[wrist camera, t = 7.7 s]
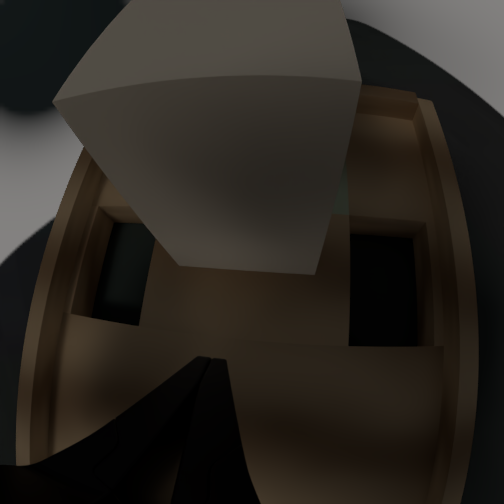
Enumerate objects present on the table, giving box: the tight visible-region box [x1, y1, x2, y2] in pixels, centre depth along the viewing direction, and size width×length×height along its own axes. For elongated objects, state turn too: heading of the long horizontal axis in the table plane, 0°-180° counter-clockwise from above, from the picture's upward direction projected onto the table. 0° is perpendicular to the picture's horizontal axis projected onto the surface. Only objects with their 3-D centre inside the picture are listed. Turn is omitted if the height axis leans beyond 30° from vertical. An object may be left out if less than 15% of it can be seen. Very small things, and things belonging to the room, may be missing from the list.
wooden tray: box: [16, 84, 479, 504], centre depth 14 cm, size 24×20×4 cm
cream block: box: [52, 0, 362, 275], centre depth 11 cm, size 7×6×10 cm
